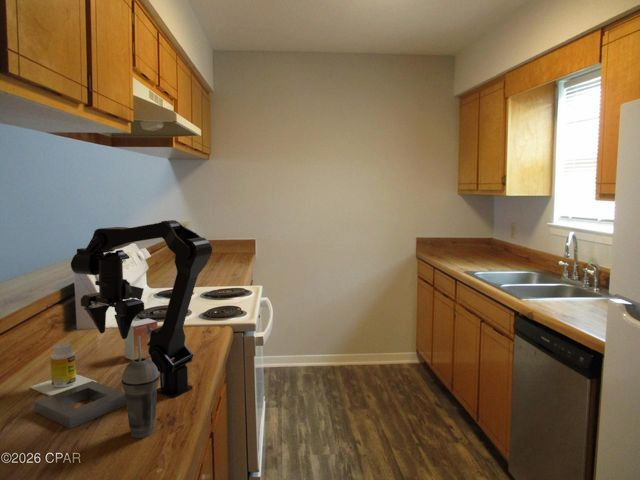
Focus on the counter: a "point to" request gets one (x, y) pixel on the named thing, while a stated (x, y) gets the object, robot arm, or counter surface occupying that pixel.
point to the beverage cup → (141, 394)
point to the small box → (144, 331)
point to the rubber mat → (51, 390)
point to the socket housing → (71, 417)
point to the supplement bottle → (63, 365)
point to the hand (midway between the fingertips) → (113, 335)
